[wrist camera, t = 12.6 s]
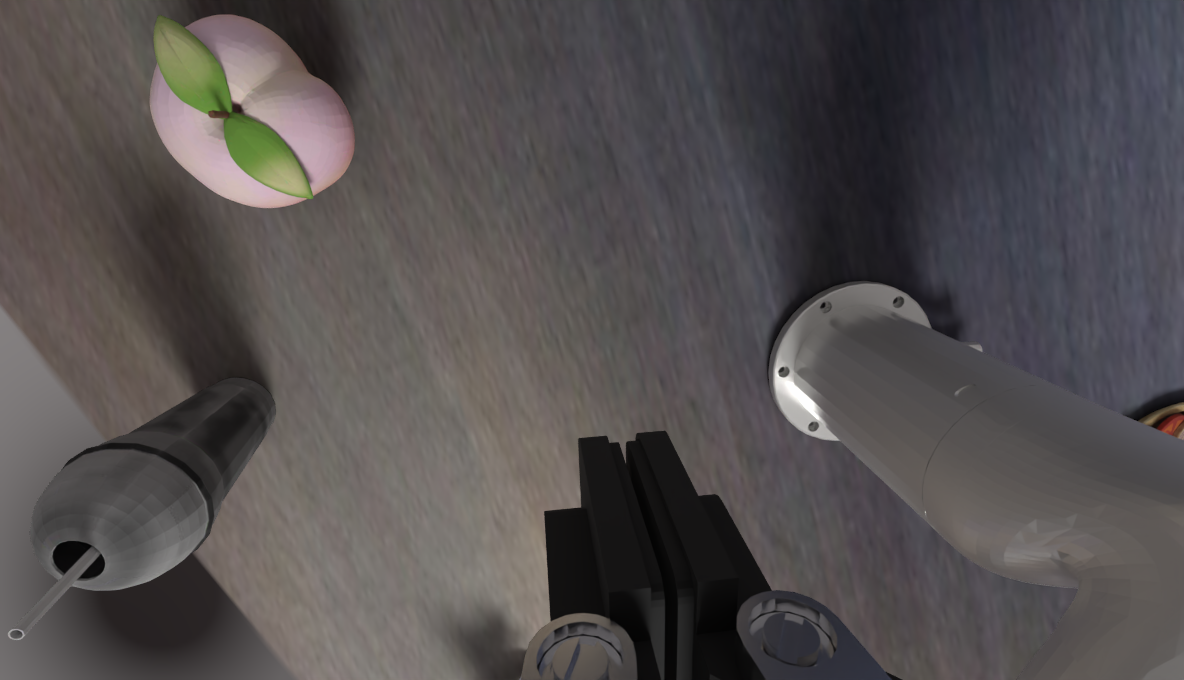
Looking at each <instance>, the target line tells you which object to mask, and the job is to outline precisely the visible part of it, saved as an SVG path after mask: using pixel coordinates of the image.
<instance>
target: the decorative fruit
mask: <svg viewBox="0 0 1184 680" xmlns="http://www.w3.org/2000/svg"><path fill="white" fill-rule="evenodd" d="M154 49H155V54H156V59H157V65H156V68H155V71H154V75H153V80H152V84H151V90H150V109H151V114H152V118H153V121H154V124H155V127H156V129H157V131H158V134H159V136H160V137H161V139H162V141H163V143H164V145H165V146H166V148H167V149H168V151H169V152H170V153H171V154H172V156H173V157H174V158H175V159H176V161H177V162H179V163H180V164H181V165H182V166H183V167H184V168H185V169H186V170H187V171H188V172H189V173H191V174H192V175H193V176H194V177H195V178H196V179H198V180H199V181H200V182H201V183H203V184H204V185H205V186H207V187H208V188H209V189H211V190H212V191H214V192H215V193H217V194H219V195H221V196H223V197H225V198H227V199H230V200H232V201H235V202H238V203H241V204H244V205H248V206H252V207H259V208H278V207H284V206H289V205H292V204H296V203H298V202H301V201H303V200H306V199H313V195H315V194H317V193H319V192H320V191H322V190H324V189H325V188H327V187H329V186H330V185H332V184H333V183H334V182H336V181H337V180H338V179H339V178H340V177H341V176H342V175H343V174H344V172H345V171H346V170H347V168H348V166H349V164H350V162H351V160H352V157H353V153H354V148H355V134H354V127H353V124H352V120H351V117H350V114H349V112H348V110H347V108H346V106H345V104H344V103H343V101H342V99H341V98H340V97H339V95H338V94H337V93H336V92H335V91H334V90H333V89H332V87H330V86H329V85H328V84H327V83H325V82H324V81H323V80H321V79H319V78H317V77H314V76H312V75H311V74H309V72H308V71H307V69H306V68H305V66H304V64H303V63H302V61H301V59H300V58H299V57H298V56H297V54H296V53H295V52H294V51H293V50H292V48H291V47H290V46H289V45H288V44H287V43H286V42H285V41H284V40H283V39H281V38H280V37H279V36H278V35H277V34H275V33H274V32H273V31H271V30H270V29H268V28H267V27H265V26H263V25H262V24H259V23H257V22H255V21H253V20H251V19H248V18H245V17H240V16H236V15H213V16H209V17H206V18H202V19H199V20H197V21H195V22H193V23H191V24H190V25H188V26H186V27H185V28H184V27H183V26H182V25H180V24H179V23H177V22H175V21H173V20H171V19H169V18H166V17H164V16H162V15H159V16H158V17H157V21H156V24H155V28H154Z"/></svg>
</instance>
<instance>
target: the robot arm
mask: <svg viewBox="0 0 1184 680" xmlns="http://www.w3.org/2000/svg"><path fill="white" fill-rule="evenodd" d="M822 303H823V304H822ZM821 304H822V306H821ZM820 306H821V307H820ZM780 368H781V369H780ZM779 369H780V370H779ZM768 375H769V387H770V390H771V393H772V397H773V400H774V401H775V403H776V405H777V407H778V409H779V410H780V412H781V413H782V414H783V415H784V416H785V417H786V418H787V420H788V421H789V422H791V423H792V424H793V425H794V426H795V427H796V428H797V429H799V430H800V431H802V432H804V433H806V434H807V435H810V436H813V437H816V438H820V439H823V440H833V441H841V442H842V443H843V444H844V445H845V446H846V447H847V448H848V449H850V450H851V451H852V452H853V453H854V454H855V455H856V456H857V457H858V458H859V459H860V460H861V461H862V462H863V463H864V464H865V465H867V466H868V467H869V468H870V469H871V470H872V471H873V472H874V473H875V474H876V475H877V476H878V477H879V478H880V479H881V480H883V481H884V482H885V483H886V484H887V485H888V486H889V487H890V488H891V489H892V490H893V491H894V492H895V493H896V494H897V495H899V496H900V497H901V498H902V499H903V500H904V501H905V502H906V503H907V504H908V505H909V506H910V507H911V508H912V509H913V510H915V511H916V512H917V513H918V514H919V515H920V516H921V517H922V518H923V519H924V520H925V521H926V522H927V523H928V524H929V525H931V526H932V527H933V528H934V529H935V530H936V531H937V532H938V533H939V534H940V535H941V536H942V537H943V538H944V539H945V540H946V541H947V542H948V543H949V544H951V545H952V546H953V547H954V548H955V549H956V550H957V551H958V552H960V553H961V554H962V555H964V556H965V557H966V558H968V559H969V560H971V561H972V562H974V563H976V564H977V565H979V566H981V567H983V568H985V569H987V570H989V571H991V572H994V573H996V574H998V575H1001V576H1004V577H1007V578H1011V579H1015V580H1019V581H1023V582H1027V583H1033V584H1040V585H1047V586H1055V587H1066V588H1078V591H1077V594H1076V597H1075V599H1074V600H1073V602H1072V603H1071V605H1070V606H1069V608H1068V609H1067V611H1066V612H1065V614H1064V615H1063V616H1062V618H1061V619H1060V620H1059V622H1058V625H1057V627H1056V629H1055V630H1054V631H1053V633H1052V634H1051V635H1050V636H1049V638H1048V639H1047V640H1046V642H1045V643H1044V644H1043V645H1042V647H1041V648H1040V649H1039V651H1038V652H1037V653H1036V654H1035V656H1034V657H1033V658H1032V659H1031V661H1030V662H1029V663H1028V665H1027V666H1026V667H1025V668H1024V670H1023V671H1022V672H1021V674H1020V675H1019V676H1018V677H1017V679H1016V680H1184V440H1182V439H1179V438H1177V437H1174V436H1172V435H1169V434H1167V433H1164V432H1162V431H1160V430H1157V429H1155V428H1152V427H1150V426H1148V425H1145V424H1143V423H1140V422H1138V421H1136V420H1133V419H1131V418H1128V417H1126V416H1124V415H1121V414H1119V413H1116V412H1114V411H1112V410H1109V409H1107V408H1105V407H1103V406H1100V405H1098V404H1096V403H1094V402H1091V401H1089V400H1087V399H1085V398H1082V397H1080V396H1078V395H1076V394H1074V393H1071V392H1069V391H1067V390H1065V389H1063V388H1060V387H1058V386H1056V385H1054V384H1052V383H1049V382H1047V381H1045V380H1043V379H1041V378H1039V377H1036V376H1034V375H1032V374H1030V373H1028V372H1025V371H1023V370H1021V369H1019V368H1017V367H1014V366H1012V365H1010V364H1008V363H1006V362H1003V361H1001V360H999V359H997V358H995V357H992V356H990V355H988V354H986V353H984V352H982V348H981V345H980V344H979V343H978V342H975V341H971V342H959V341H957V340H955V339H953V338H951V337H948V336H946V335H944V334H942V333H940V332H937V331H935V330H933V329H932V328H931V325H930V323H929V320H928V318H927V315H926V314H925V312H924V311H923V309H922V308H921V307H920V305H919V304H918V303H917V302H916V301H915V300H914V299H912V298H911V297H910V296H909V295H908V294H906V293H904V292H902V291H900V290H898V289H896V288H894V287H891V286H888V285H885V284H883V283H878V282H871V281H856V282H848V283H844V284H840V285H836V286H833V287H831V288H829V289H826V290H824V291H822V292H820V293H818V294H817V295H815V296H814V297H812V298H811V299H809V300H808V301H806V302H805V303H804V304H803V305H802V306H801V307H800V308H799V309H797V310H796V311H795V312H794V313H793V314H792V316H791V317H790V318H789V320H788V321H787V322H786V323H785V325H784V326H783V327H782V329H781V331H780V333H779V335H778V337H777V339H776V341H775V343H774V346H773V349H772V353H771V356H770V362H769V370H768ZM578 448H579V469H580V490H581V508H571V509H561V510H551V511H544V515H545V533H546V550H547V567H548V584H549V601H550V618H551V622H550V623H548V624H547V625H545V626H544V627H543V628H541V629H540V630H539V631H538V632H537V633H536V635H535V636H534V637H533V639H532V640H531V641H530V643H529V646H528V649H527V651H526V654H525V658H524V663H523V669H522V675H521V680H902V679H900V678H898V677H896V676H893V675H891V674H889V673H887V672H885V671H884V670H883V669H882V668H881V666H880V665H879V664H878V663H877V662H876V661H875V660H874V658H873V657H872V656H871V655H870V654H869V653H868V651H867V650H866V649H865V648H864V647H863V646H862V645H861V643H860V642H859V641H858V640H857V639H856V638H855V636H854V635H853V634H852V633H851V632H850V631H849V630H848V628H847V627H846V626H845V625H844V624H843V623H842V622H841V620H840V619H839V618H838V617H837V616H836V615H835V614H834V613H832V612H831V611H830V610H829V609H828V608H827V607H826V606H824V605H822V604H821V603H819V602H817V601H815V600H814V599H812V598H810V597H807V596H804V595H801V594H798V593H795V592H788V591H780V590H776V591H772V590H771V588H770V586H769V585H768V583H767V581H766V579H765V577H764V576H763V574H762V572H761V570H760V568H759V567H758V565H757V563H756V561H755V559H754V558H753V556H752V554H751V552H750V550H749V549H748V547H747V545H746V543H745V541H744V540H743V538H742V536H741V534H740V532H739V531H738V529H737V527H736V525H735V524H734V522H733V520H732V518H731V516H730V515H729V513H728V511H727V509H726V507H725V506H724V504H723V502H722V500H721V499H720V498H719V496H718V495H715V494H713V495H703V496H698V494H697V492H696V490H695V488H694V486H693V484H692V482H691V480H690V478H689V476H688V474H687V472H686V470H685V468H684V466H683V464H682V462H681V460H680V458H679V456H678V454H677V452H676V450H675V448H674V446H673V444H672V442H671V440H670V438H669V436H668V434H667V432H666V431H656V432H644V433H637V434H636V441H627V443H626V463H625V460H624V457H623V454H622V451H621V448H620V444H619V442H616V443H609V440H608V437H607V436H598V437H587V438H579V439H578Z"/></svg>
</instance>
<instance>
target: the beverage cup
mask: <svg viewBox="0 0 1184 680" xmlns="http://www.w3.org/2000/svg"><path fill="white" fill-rule="evenodd" d="M275 415H276V408H275V403H274V401H273V398H272V396H271V395H270V393H269V392H268V391H267V390H266V389H265V388H264V387H263V386H261V385H259V384H258V383H256V382H255V381H252V380H248V379H245V378H228V379H224V380H221V381H220V382H218V383H217V384H215V385H213V386H210V387H207V388H205V389H204V390H202V391H200V392H199V393H197V394H195V395H194V396H192V397H190V398H188V399H187V400H185V401H183V402H182V403H180V404H178V405H176V406H175V407H173V408H171V409H170V410H168V411H166V412H165V413H163V414H161V415H159V416H158V417H156V418H154V419H153V420H151V421H149V422H147V423H146V424H144V425H142V426H141V427H139V428H137V429H136V430H134V431H132V432H130V433H129V434H126V435H123V436H119V437H117V438H114V439H112V440H109V441H107V442H105V443H102V444H101V445H99V446H95V447H91V448H88V449H86V450H84V451H83V452H81V453H79V454H78V455H76V456H75V457H74V458H72V459H70V460H69V461H68V462H67V463H66V464H65V466H64V467H63V469H62V470H61V471H60V472H59V473H58V474H57V475H56V476H55V477H54V479H53V480H52V481H51V482H50V483H49V485H48V486H47V488H46V490H45V491H44V492H43V494H42V495H41V496H40V498H39V499H38V501H37V503H36V505H35V507H34V511H33V516H32V522H31V527H30V539H31V544H32V547H33V551H34V555H35V556H36V557H37V559H38V561H39V562H40V563H41V565H42V566H43V568H44V569H45V570H46V571H47V572H48V573H50V574H51V575H52V576H53V577H55V578H56V579H57V580H59V581H58V582H57V583H56V584H55V585H54V586H53V587H52V588H51V589H50V590H49V591H48V592H47V593H46V594H45V595H44V597H42V598H41V599H40V600H39V602H38V603H37V604H36V605H35V606H34V607H33V608H32V609H31V610H30V611H29V612H28V613H27V614H26V615H25V616H24V617H23V618H22V619H21V620H20V621H19V622H18V623H17V624H16V625H15V626H14V627H13V628H12V629H11V631H10V632H9V633H8V635H9V638H11V639H13V640H20V639H22V638H23V637H24V636H25V635H26V634H27V633H28V632H29V630H30V629H31V628H32V627H33V626H34V625H35V624H36V623H37V622H38V621H39V620H40V619H41V617H42V616H43V615H44V614H45V613H46V612H47V611H48V610H49V609H50V608H51V607H52V605H54V604H55V602H56V601H57V600H58V599H59V598H60V597H61V596H62V595H63V594H64V593H65V592H66V591H67V590H68V588H70V586H74V587H78V588H83V589H88V590H117V589H123V588H127V587H131V586H135V585H138V584H142V583H145V582H148V581H150V580H152V579H154V578H156V577H158V576H160V575H161V574H163V573H165V572H166V571H168V570H169V569H171V568H173V567H174V566H176V565H177V564H179V563H180V562H181V561H183V560H184V559H185V558H186V557H187V556H188V555H189V554H191V553H193V552H194V551H196V550H197V549H198V548H199V547H200V546H201V544H202V543H203V542H204V541H205V539H206V538H207V537H208V536H209V534H210V531H211V528H212V525H213V523H214V521H215V519H216V517H217V515H218V512H219V510H220V508H221V504H222V501H223V500H224V498H225V497H226V495H227V493H228V492H229V490H230V489H231V487H232V486H233V484H234V483H235V481H236V480H237V478H238V477H239V475H240V474H241V472H242V471H243V469H244V468H245V466H246V465H247V463H248V462H249V460H250V459H251V457H252V455H253V454H254V452H255V451H256V449H257V448H258V446H259V445H260V443H261V442H262V440H263V439H264V437H265V436H266V434H267V432H268V429H269V427H270V425H271V424H272V423H273V421H274V418H275Z"/></svg>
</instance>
